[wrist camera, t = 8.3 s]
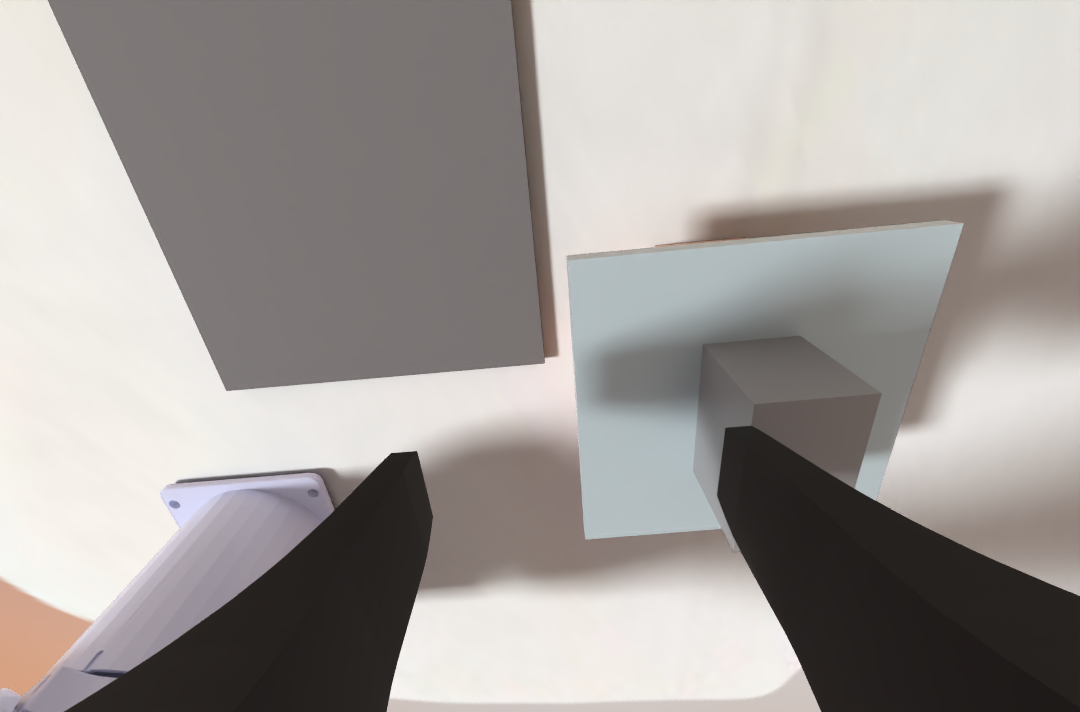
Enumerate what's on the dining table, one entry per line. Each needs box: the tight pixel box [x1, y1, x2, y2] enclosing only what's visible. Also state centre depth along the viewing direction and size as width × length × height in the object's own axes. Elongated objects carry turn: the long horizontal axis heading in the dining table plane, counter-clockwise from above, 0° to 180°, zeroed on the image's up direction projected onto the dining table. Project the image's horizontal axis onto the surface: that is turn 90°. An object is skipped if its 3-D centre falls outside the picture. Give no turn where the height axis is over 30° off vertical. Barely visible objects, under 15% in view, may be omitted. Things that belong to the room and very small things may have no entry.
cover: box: [567, 220, 964, 552], centre depth 13 cm, size 11×11×4 cm
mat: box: [48, 0, 545, 391], centre depth 16 cm, size 14×14×1 cm
